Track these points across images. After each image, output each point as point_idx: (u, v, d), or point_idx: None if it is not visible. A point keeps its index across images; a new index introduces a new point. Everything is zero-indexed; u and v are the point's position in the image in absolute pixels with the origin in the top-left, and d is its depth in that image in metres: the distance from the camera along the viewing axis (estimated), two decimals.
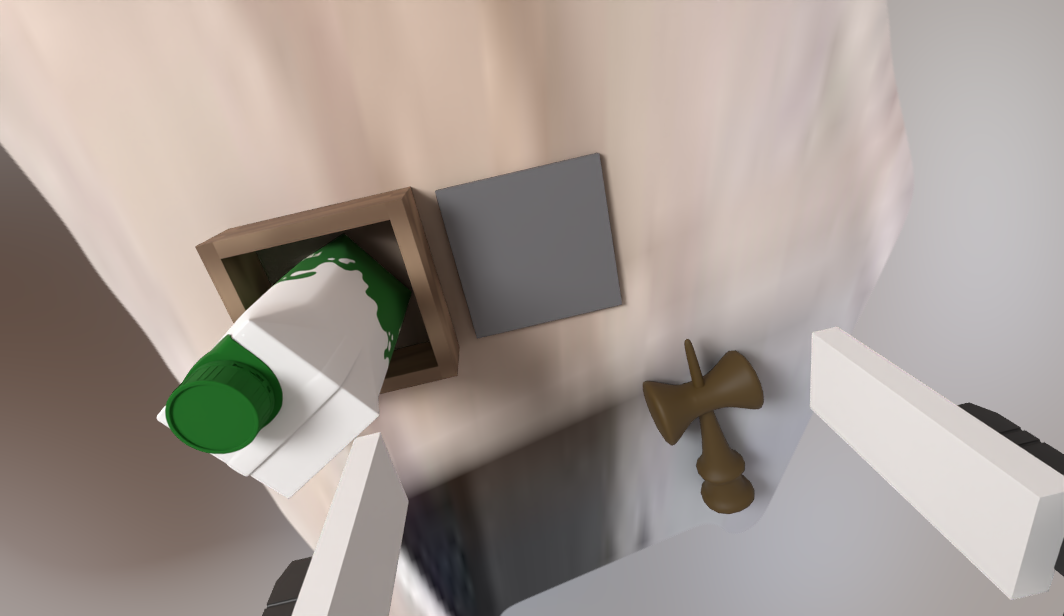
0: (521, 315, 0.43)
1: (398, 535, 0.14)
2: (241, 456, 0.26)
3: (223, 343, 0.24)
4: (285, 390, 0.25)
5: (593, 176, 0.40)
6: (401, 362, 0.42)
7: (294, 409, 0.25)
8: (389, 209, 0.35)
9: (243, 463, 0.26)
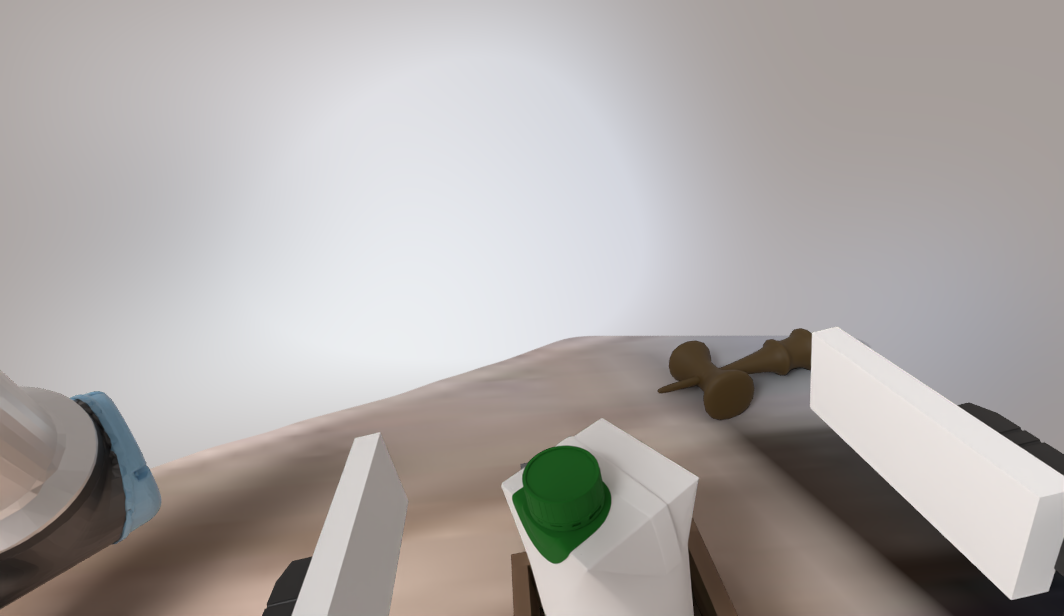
0: None
1: (398, 535, 0.14)
2: (638, 503, 0.25)
3: (516, 502, 0.27)
4: None
5: None
6: (700, 593, 0.36)
7: None
8: (518, 564, 0.38)
9: (647, 502, 0.25)
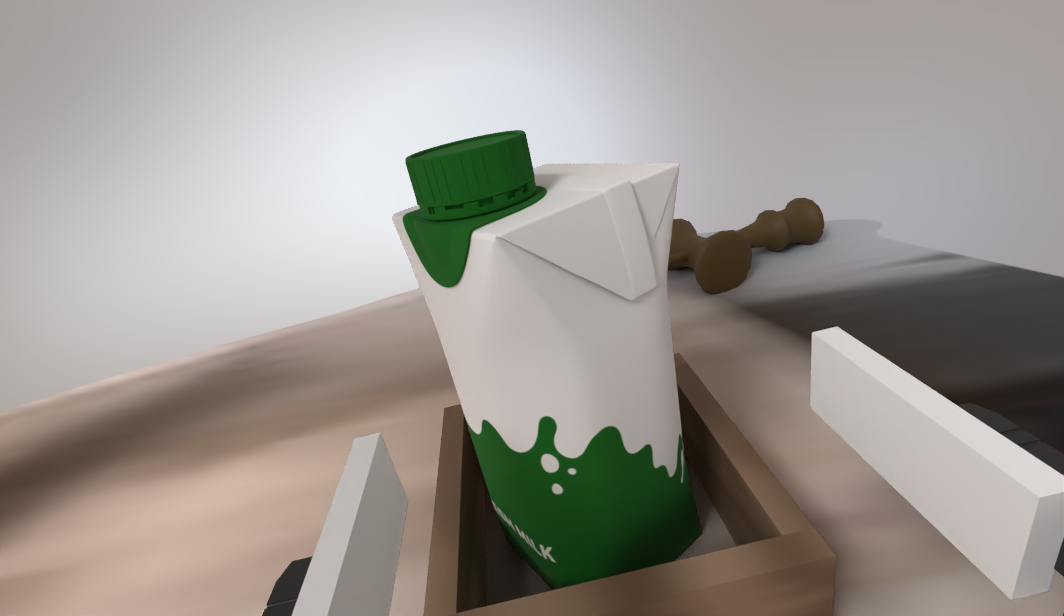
0: None
1: (398, 535, 0.14)
2: (587, 186, 0.16)
3: (408, 220, 0.18)
4: None
5: None
6: (691, 434, 0.27)
7: None
8: (452, 416, 0.29)
9: (600, 183, 0.16)
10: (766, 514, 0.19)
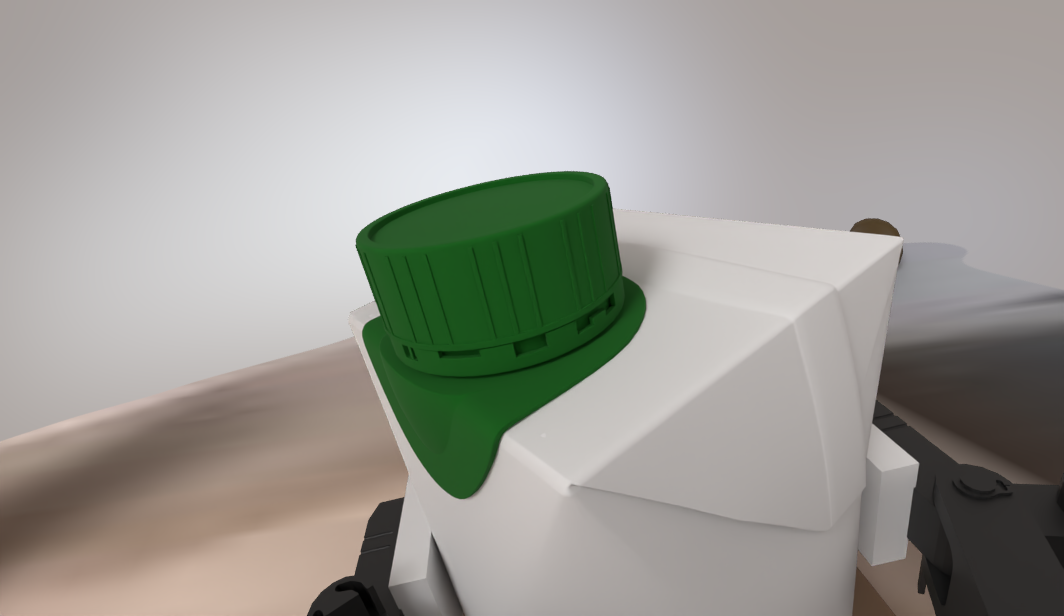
0: None
1: None
2: (737, 294, 0.08)
3: (370, 339, 0.09)
4: None
5: None
6: None
7: None
8: None
9: (767, 289, 0.08)
10: None
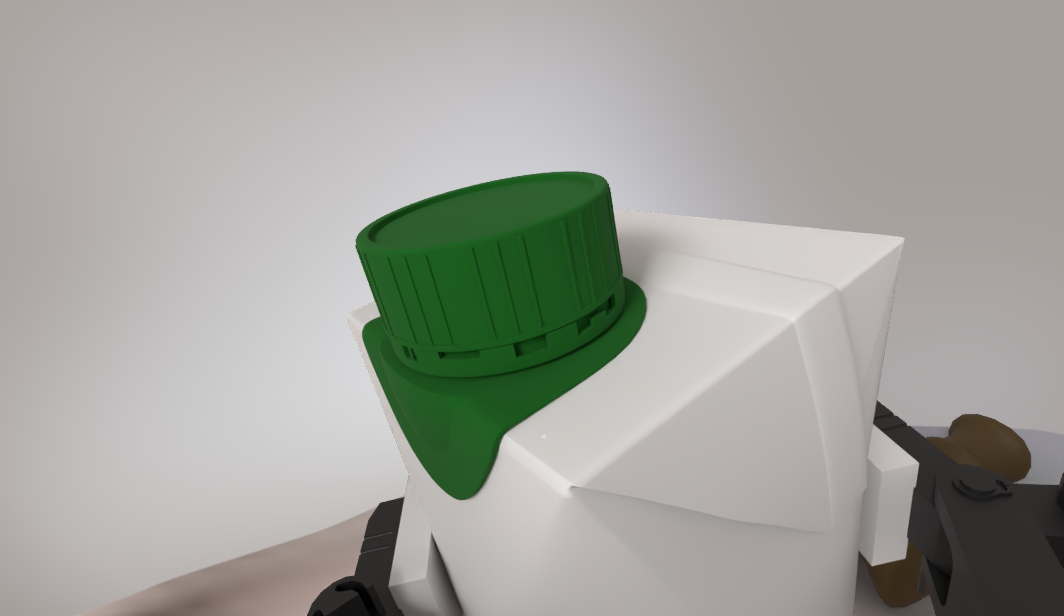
0: None
1: None
2: (738, 294, 0.08)
3: (370, 339, 0.09)
4: None
5: None
6: None
7: None
8: None
9: (768, 289, 0.08)
10: None
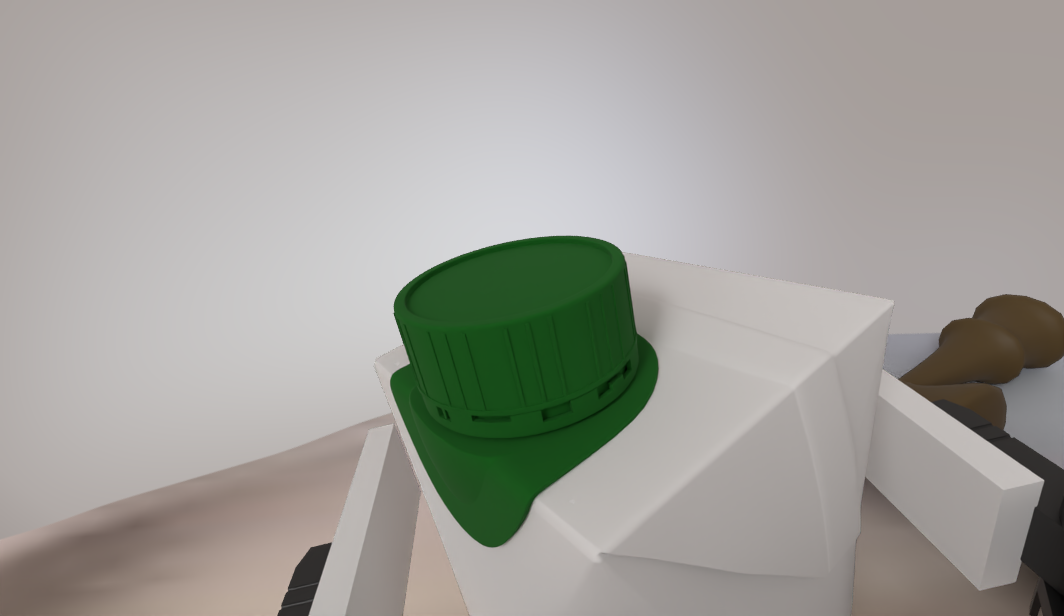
0: None
1: (412, 524, 0.14)
2: (742, 358, 0.08)
3: (399, 389, 0.10)
4: None
5: None
6: None
7: None
8: None
9: (770, 354, 0.08)
10: None
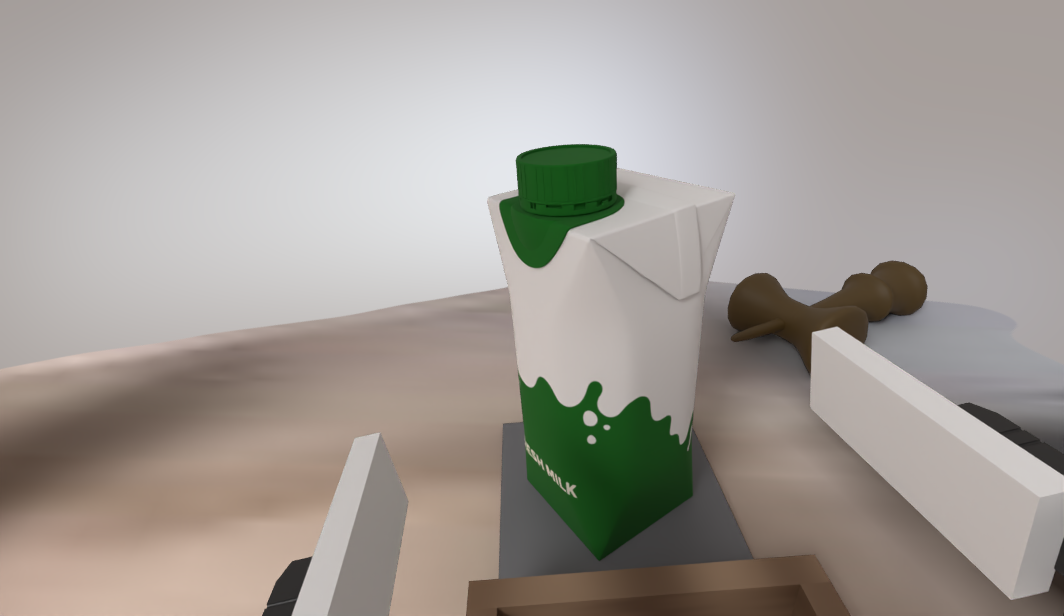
0: (709, 511, 0.28)
1: (398, 535, 0.14)
2: (659, 203, 0.20)
3: (504, 206, 0.22)
4: None
5: None
6: None
7: None
8: (480, 604, 0.20)
9: (670, 202, 0.20)
10: None
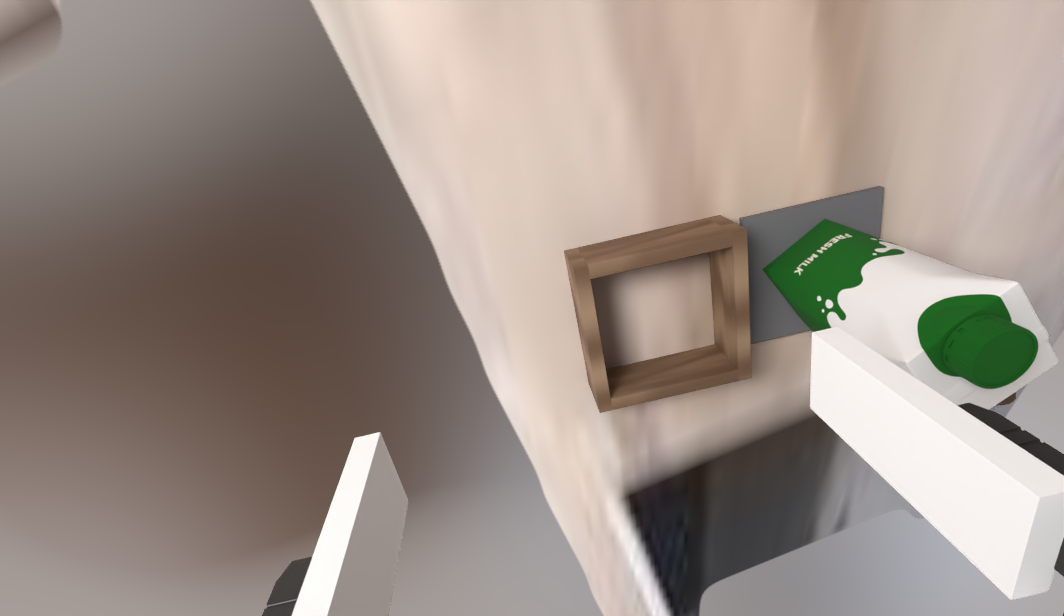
0: (788, 324, 0.50)
1: (398, 535, 0.14)
2: (948, 395, 0.32)
3: (989, 300, 0.30)
4: None
5: (874, 206, 0.46)
6: (693, 365, 0.48)
7: None
8: (735, 237, 0.41)
9: None
10: (622, 396, 0.46)
